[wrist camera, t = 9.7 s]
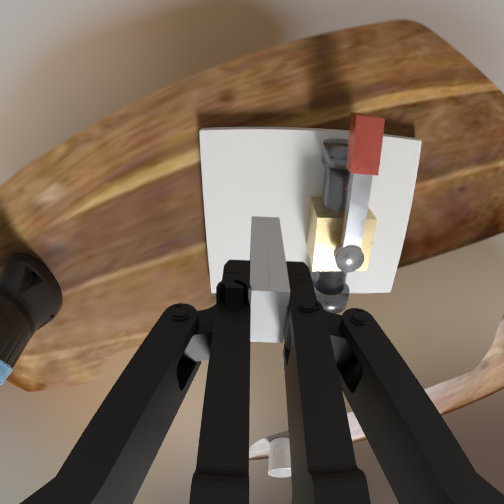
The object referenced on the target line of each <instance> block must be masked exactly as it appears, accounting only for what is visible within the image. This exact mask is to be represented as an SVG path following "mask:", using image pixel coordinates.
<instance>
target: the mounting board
mask: <svg viewBox="0 0 504 504" xmlns="http://www.w3.org/2000/svg"><path fill="white" fill-rule="evenodd" d="M199 133H200V152H201V169H202V184H203V199H204V212H205V225H206V238H207V249H208V260H209V271H210V282H211V292H212V293H216V287H217V285H218V283H219V282H220V281H222V276H223V269H224V265H225V264H226V263H227V261H228V260H229V259H230V260H250V240H251V219H252V216H260V217H279V219H280V225H281V232H282V238H283V245H284V252H285V258H286V261H296V262H304V263H305V264H306V265H307V266H308V267H309V269H310V273H311V277H312V281H313V280H314V279H315V271H312V268H311V264H310V259H309V255H308V250H307V246H306V240H307V228H308V215H309V201H310V196H313V197H323V190H324V178H325V165H324V164H323V163H322V145H323V140H325V139H349V130H336V129H321V128H299V127H211V128H202V129H200V130H199ZM421 142H422V141H420V140H418V139H417V138H413V137H405V136H398V135H390V134H383V142H382V150H381V158H380V166H379V173H378V176H377V175H373V178H372V185H371V192H370V198H369V205H368V207H369V209H370V210H371V211H372V213H373V214H374V216H375V217H376V218H377V223H376V229H375V234H374V240H373V245H372V250H371V255H370V260H369V265H368V269H367V271H354V272H347V277H346V282H345V283H346V284H347V285H348V286H349V290H350V291H349V293H380V292H381V293H382V292H391V288H392V285H393V281H394V278H395V274H396V270H397V266H398V262H399V258H400V254H401V250H402V246H403V242H404V238H405V233H406V229H407V224H408V219H409V215H410V210H411V205H412V199H413V194H414V188H415V183H416V177H417V170H418V164H419V157H420V150H421Z"/></svg>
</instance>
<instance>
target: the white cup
mask: <svg viewBox="0 0 504 504" xmlns="http://www.w3.org/2000/svg"><path fill="white" fill-rule="evenodd" d="M268 474H269V475H270V476H273V477H289V476H291V460H290V443H289V438H286V437H281V438H276V439H273V440H272V441H271V442H270V451H269V463H268Z"/></svg>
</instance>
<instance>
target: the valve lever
mask: <svg viewBox="0 0 504 504" xmlns="http://www.w3.org/2000/svg"><path fill="white" fill-rule="evenodd" d="M384 123H385V119H384V118H381V117H379V116H374V115H367V114H358V113H351V116H350V129H349V140H348V151H347V161H346V168H347V169H348V171H349V172H350V179H349V187H348V195H347V203H346V210H345V217H344V224H343V231H342V237H341V242H340V243H339V244H338V245H337V246H336V247H335V249H334V252H333V256H334V259H335V262H336V265H337V267H338V268H339V269H340V270H341V271H343V272H354V271H356V270H358V269H359V268H360V267H361V266H362V264H363V262H364V254H363V252H362V250H361V244H362V239H363V234H364V228H365V222H366V217H367V211H368V205H369V198H370V192H371V185H372V178H373V175H377V176H378V173H379V166H380V158H381V150H382V142H383V133H384Z"/></svg>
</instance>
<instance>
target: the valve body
mask: <svg viewBox="0 0 504 504" xmlns="http://www.w3.org/2000/svg"><path fill="white" fill-rule="evenodd" d="M348 140H349V139H325V140H323V145H322V163H323V164H324V165H325V178H324V190H323V197H313V196H310V201H309V215H308V228H307V240H306V246H307V250H308V255H309V259H310V264H311V268H312V271H315V279H314V280H313V281H312V282H313V286H314V290H315V294H316V298H317V300H318V301H319V302H320V303H321V304H322V306H323V308H324V310H326V311H328V312H331V313H334V314H336V313H339V312H341V311H343V310H344V309H345V307H346V305H347V301H348V295H349V291H350V290H349V286H348V285H347V284H346V283H345V282H346V277H347V272H343V271H341V270H340V269H339V268H338V267H337V265H336V262H335V259H334V256H333V252H334V249H335V247H336V246H337V245H338V244H339V243H340V242H341V237H342V231H343V224H344V217H345V210H346V203H347V195H348V187H349V179H350V172H349V171H348V169H347V168H346V161H347V151H348ZM376 223H377V218H376V217H375V216H374V214H373V213H372V211H371V210H370V209H369V207H368V211H367V217H366V222H365V228H364V234H363V239H362V244H361V250H362V252H363V254H364V262H363V264H362V266H361V267H360V268H359V269H358V270H356V271H367V269H368V265H369V260H370V255H371V250H372V245H373V240H374V234H375V229H376Z"/></svg>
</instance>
